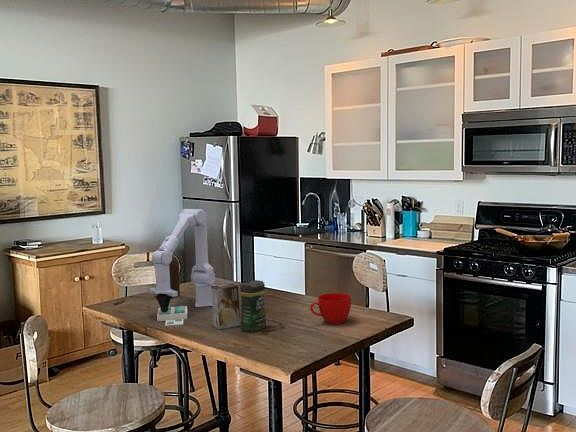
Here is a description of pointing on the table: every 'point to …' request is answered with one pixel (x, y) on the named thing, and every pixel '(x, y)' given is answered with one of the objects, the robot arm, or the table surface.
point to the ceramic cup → (333, 307)
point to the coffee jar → (253, 306)
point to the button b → (179, 309)
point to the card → (174, 322)
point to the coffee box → (226, 306)
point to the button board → (172, 314)
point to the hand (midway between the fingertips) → (164, 311)
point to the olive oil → (174, 275)
